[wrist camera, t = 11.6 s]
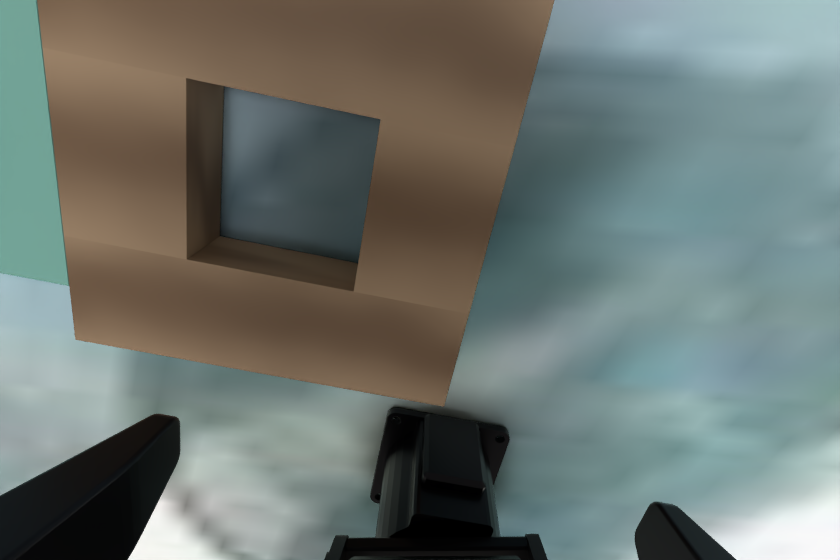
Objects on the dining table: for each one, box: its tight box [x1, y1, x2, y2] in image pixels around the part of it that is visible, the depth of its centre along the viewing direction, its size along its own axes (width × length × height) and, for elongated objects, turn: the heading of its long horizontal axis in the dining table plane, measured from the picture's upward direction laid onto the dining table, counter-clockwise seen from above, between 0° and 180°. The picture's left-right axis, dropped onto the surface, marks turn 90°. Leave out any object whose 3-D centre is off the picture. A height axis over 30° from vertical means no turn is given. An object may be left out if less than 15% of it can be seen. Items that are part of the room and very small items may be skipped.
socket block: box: [37, 0, 554, 407], centre depth 18 cm, size 16×16×3 cm
